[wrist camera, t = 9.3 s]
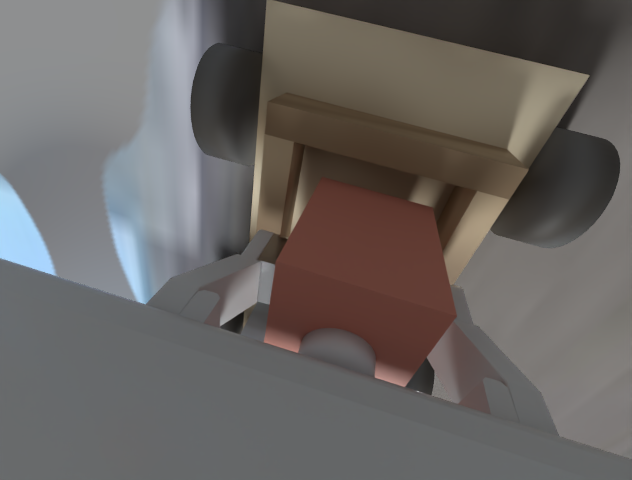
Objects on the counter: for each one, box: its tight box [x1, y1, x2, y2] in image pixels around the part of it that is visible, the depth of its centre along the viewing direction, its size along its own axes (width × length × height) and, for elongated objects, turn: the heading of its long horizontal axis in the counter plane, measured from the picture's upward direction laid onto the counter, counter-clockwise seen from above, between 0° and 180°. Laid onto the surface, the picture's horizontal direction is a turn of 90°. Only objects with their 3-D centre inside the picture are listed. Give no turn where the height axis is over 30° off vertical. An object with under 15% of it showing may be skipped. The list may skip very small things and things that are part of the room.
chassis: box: [191, 0, 620, 395], centre depth 14 cm, size 20×13×7 cm, turn 169°
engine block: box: [264, 177, 457, 387], centre depth 9 cm, size 5×4×6 cm
